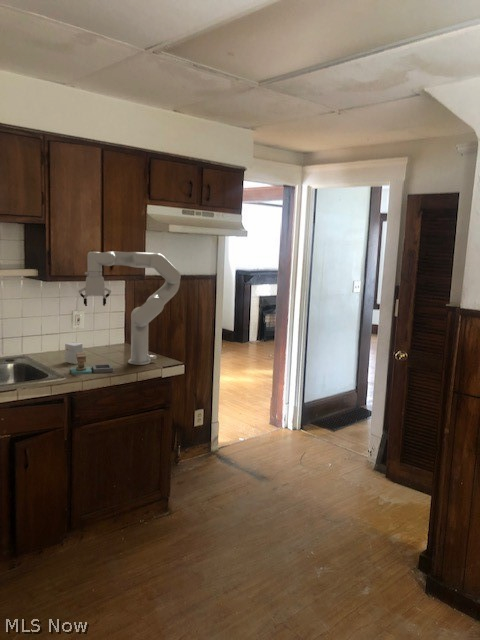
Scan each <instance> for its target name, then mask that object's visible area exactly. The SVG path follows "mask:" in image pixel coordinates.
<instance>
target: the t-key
mask: <svg viewBox="0 0 480 640" xmlns="http://www.w3.org/2000/svg"><path fill="white" fill-rule="evenodd" d="M76 358H77V361H78V364H77V366H76V370H78V371H83V370H86V367H87V366H85V363H86V362H87V356H86V353H85V352H83V353H76Z"/></svg>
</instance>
